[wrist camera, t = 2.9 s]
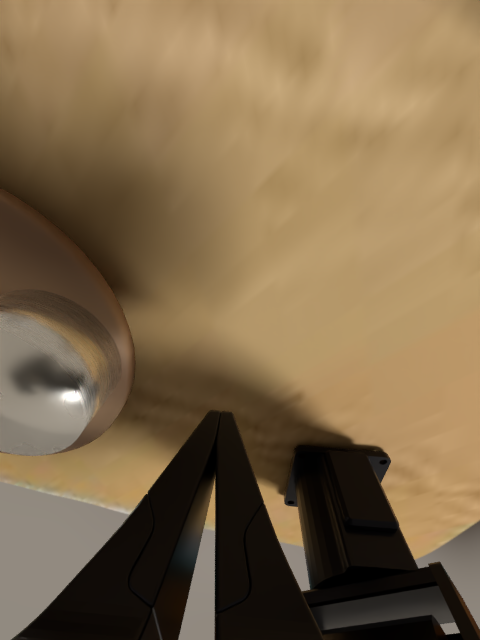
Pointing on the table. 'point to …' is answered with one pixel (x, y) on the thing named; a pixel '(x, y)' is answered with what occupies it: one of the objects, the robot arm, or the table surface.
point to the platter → (63, 290)
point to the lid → (51, 371)
